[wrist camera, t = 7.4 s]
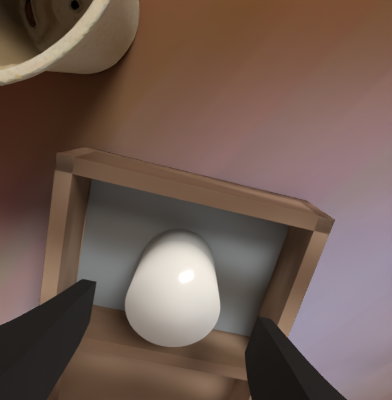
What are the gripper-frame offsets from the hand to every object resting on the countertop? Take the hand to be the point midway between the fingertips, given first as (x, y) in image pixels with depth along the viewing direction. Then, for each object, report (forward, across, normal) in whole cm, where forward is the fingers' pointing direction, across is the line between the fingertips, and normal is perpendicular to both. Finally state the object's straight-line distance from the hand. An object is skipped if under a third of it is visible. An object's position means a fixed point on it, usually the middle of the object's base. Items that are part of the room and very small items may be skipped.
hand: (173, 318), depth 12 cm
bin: (+6, 0, +5) cm, 8 cm away
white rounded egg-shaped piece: (+5, 0, 0) cm, 5 cm away
